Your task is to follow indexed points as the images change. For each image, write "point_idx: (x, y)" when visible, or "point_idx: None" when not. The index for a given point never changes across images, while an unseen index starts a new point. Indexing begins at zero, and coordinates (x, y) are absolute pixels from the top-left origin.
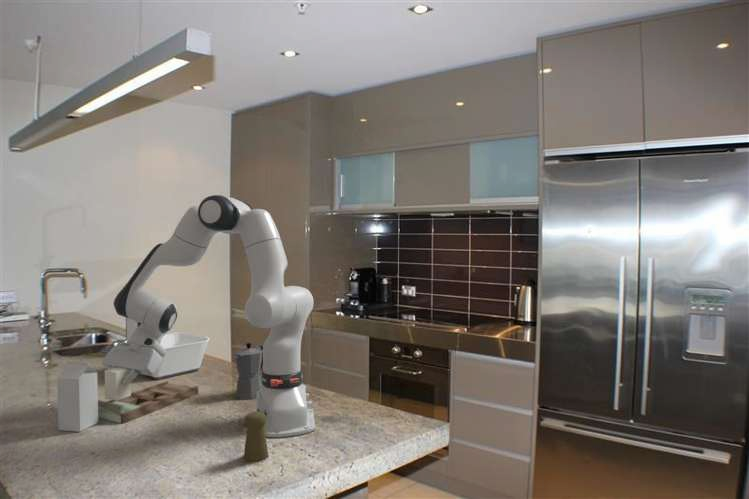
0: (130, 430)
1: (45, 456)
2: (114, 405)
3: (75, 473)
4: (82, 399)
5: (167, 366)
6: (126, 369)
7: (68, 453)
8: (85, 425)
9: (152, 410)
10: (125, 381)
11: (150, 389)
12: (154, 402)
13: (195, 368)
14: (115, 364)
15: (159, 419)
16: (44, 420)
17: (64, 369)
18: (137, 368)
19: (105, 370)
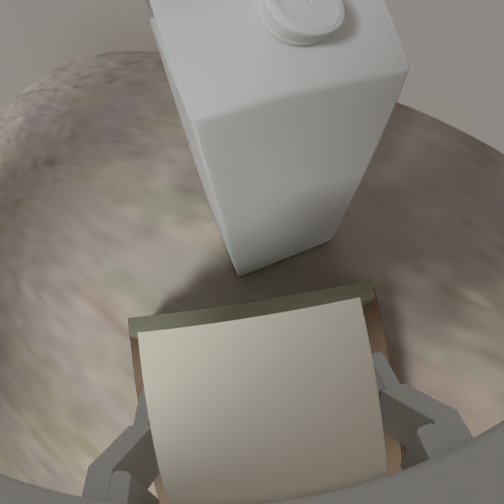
0: (69, 300)
1: (134, 95)
2: (172, 313)
3: (27, 118)
4: (183, 126)
5: None
6: (165, 484)
7: (99, 127)
8: (211, 208)
9: None
10: (142, 405)
11: None
12: (163, 501)
13: None
14: (425, 473)
15: (73, 423)
16: (430, 186)
17: None
18: (22, 485)
19: (358, 307)
